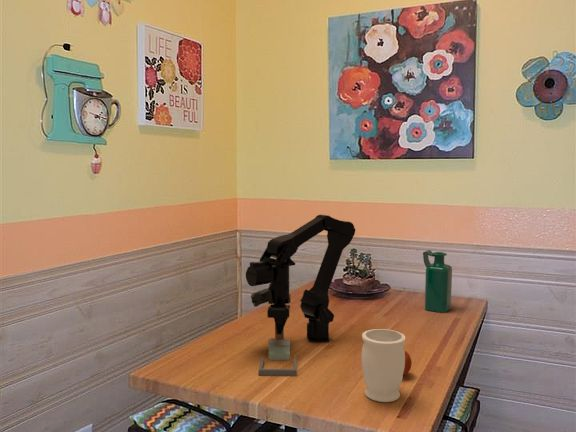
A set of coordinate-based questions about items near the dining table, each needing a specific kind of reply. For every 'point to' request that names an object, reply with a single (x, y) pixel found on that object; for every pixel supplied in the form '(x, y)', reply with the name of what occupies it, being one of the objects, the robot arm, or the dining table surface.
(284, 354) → the tile
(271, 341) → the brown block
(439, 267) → the pitcher
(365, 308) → the dining table surface
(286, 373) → the frame
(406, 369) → the fruit
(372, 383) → the jar
